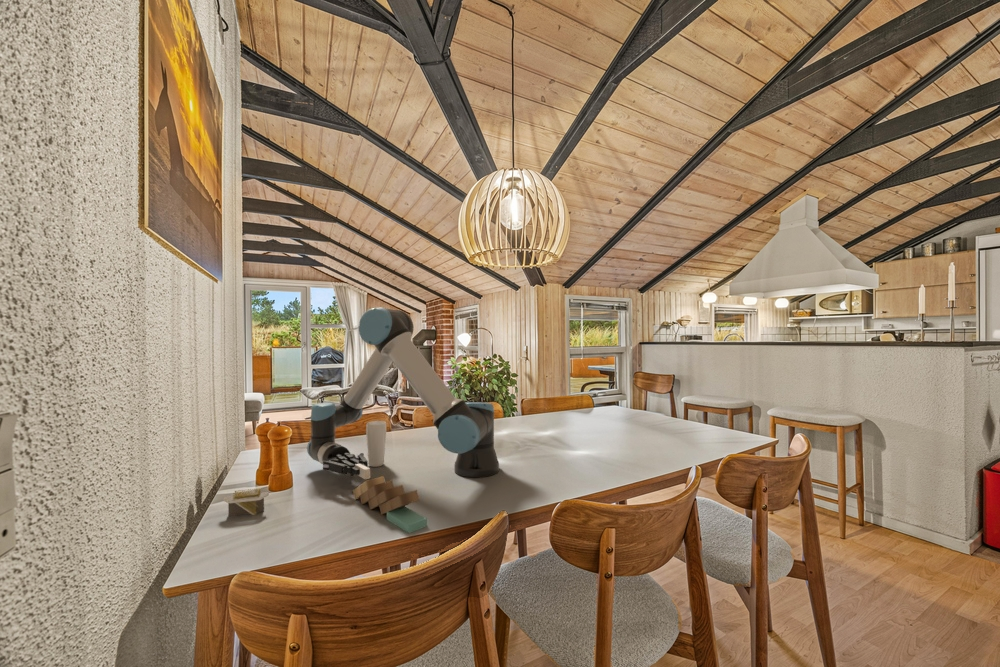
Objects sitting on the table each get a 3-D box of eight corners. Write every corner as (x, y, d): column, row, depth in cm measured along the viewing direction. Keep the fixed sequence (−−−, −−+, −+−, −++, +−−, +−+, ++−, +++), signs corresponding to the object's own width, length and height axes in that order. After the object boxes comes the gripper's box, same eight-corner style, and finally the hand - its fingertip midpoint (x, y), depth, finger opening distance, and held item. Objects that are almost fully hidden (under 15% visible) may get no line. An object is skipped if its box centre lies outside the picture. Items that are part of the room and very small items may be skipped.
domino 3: (385, 495, 111) (402, 485, 105) (387, 504, 110) (404, 494, 104) (367, 500, 107) (384, 490, 101) (370, 509, 106) (387, 500, 100)
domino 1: (369, 485, 117) (383, 475, 111) (371, 494, 116) (386, 484, 110) (352, 490, 114) (366, 480, 108) (354, 499, 113) (368, 489, 107)
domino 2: (376, 490, 114) (392, 480, 108) (379, 499, 113) (394, 489, 107) (359, 495, 110) (374, 485, 104) (361, 504, 109) (376, 494, 103)
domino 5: (404, 506, 104) (426, 518, 97) (404, 515, 104) (426, 528, 97) (386, 512, 100) (408, 525, 93) (386, 521, 100) (408, 535, 93)
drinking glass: (370, 469, 139) (370, 425, 139) (363, 464, 144) (363, 422, 144) (389, 465, 143) (389, 422, 143) (381, 460, 148) (381, 419, 148)
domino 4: (395, 499, 107) (416, 490, 102) (397, 509, 106) (419, 499, 101) (379, 505, 104) (399, 495, 98) (381, 514, 103) (402, 505, 97)
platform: (280, 521, 100) (280, 495, 100) (194, 532, 95) (194, 504, 95) (288, 502, 112) (289, 479, 112) (212, 511, 106) (212, 486, 106)
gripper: (353, 463, 135) (388, 481, 118) (313, 472, 126) (344, 493, 109) (354, 440, 135) (388, 455, 118) (313, 448, 126) (344, 465, 109)
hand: (367, 474), depth 113 cm, fingers closed
